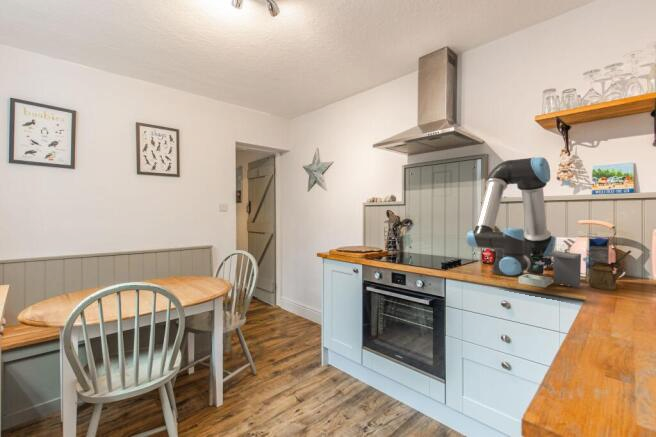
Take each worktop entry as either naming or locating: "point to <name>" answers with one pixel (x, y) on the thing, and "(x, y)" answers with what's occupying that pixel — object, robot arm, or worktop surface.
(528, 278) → the tray
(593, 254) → the beverage box
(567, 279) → the bay
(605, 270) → the wooden mug
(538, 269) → the supplement bottle
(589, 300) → the worktop surface
